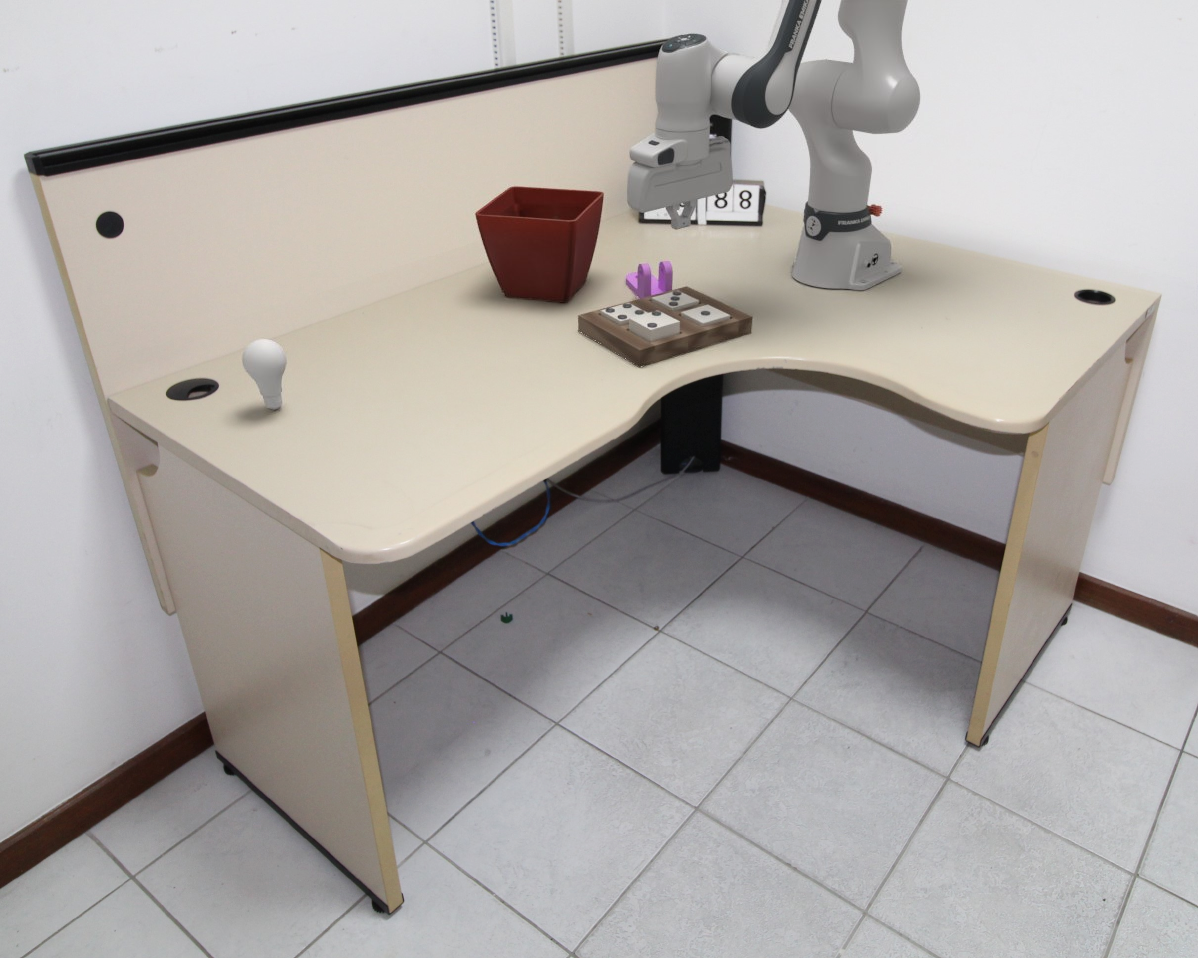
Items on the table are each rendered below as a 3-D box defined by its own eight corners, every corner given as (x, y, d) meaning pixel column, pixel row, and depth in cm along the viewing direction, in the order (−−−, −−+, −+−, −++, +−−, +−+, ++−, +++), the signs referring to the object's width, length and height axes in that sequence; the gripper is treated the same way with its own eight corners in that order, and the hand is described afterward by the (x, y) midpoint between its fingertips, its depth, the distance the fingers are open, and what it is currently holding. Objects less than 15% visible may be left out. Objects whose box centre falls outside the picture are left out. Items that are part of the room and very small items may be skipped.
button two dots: (657, 328, 163) (657, 309, 162) (679, 339, 159) (680, 320, 157) (628, 336, 161) (629, 317, 159) (650, 348, 156) (650, 328, 155)
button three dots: (677, 307, 175) (678, 289, 174) (698, 317, 171) (699, 299, 169) (651, 314, 172) (651, 296, 171) (671, 325, 168) (672, 306, 166)
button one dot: (706, 321, 169) (707, 303, 168) (729, 332, 165) (730, 314, 163) (680, 329, 167) (680, 311, 165) (702, 340, 162) (703, 322, 161)
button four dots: (628, 320, 170) (628, 301, 168) (648, 330, 166) (649, 312, 164) (600, 327, 167) (600, 309, 165) (620, 339, 163) (620, 320, 161)
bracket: (671, 300, 179) (673, 264, 176) (643, 304, 178) (644, 267, 174) (648, 277, 190) (649, 243, 186) (621, 280, 189) (622, 246, 185)
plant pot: (479, 302, 179) (472, 212, 170) (516, 268, 195) (511, 185, 186) (577, 312, 175) (574, 220, 166) (606, 277, 190) (605, 191, 181)
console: (686, 301, 178) (686, 286, 177) (751, 332, 166) (752, 316, 164) (578, 331, 167) (578, 315, 165) (639, 367, 154) (639, 350, 153)
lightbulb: (258, 400, 146) (243, 333, 140) (299, 398, 146) (286, 331, 140) (249, 419, 141) (233, 350, 135) (291, 417, 141) (277, 348, 135)
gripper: (718, 131, 164) (715, 211, 171) (621, 151, 154) (622, 235, 162) (743, 137, 159) (738, 219, 167) (644, 158, 150) (644, 244, 157)
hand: (680, 227), depth 164 cm, fingers closed
